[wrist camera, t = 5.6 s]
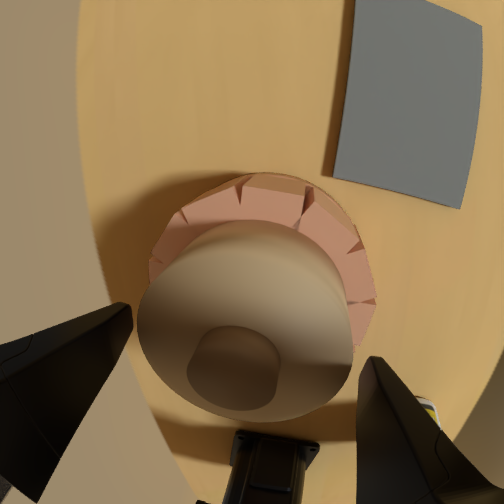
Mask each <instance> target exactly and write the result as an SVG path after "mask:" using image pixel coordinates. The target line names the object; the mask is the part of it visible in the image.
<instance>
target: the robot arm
mask: <svg viewBox="0 0 504 504" xmlns="http://www.w3.org/2000/svg"><path fill="white" fill-rule="evenodd" d="M132 330H133V317H132V309H131V306H130V305H129V304H126V303H123V302H117V303H114V304H112V305H109V306H106V307H104V308H101V309H98V310H96V311H93V312H90V313H88V314H85V315H82V316H80V317H77V318H74V319H72V320H69V321H66V322H64V323H61V324H58V325H56V326H53V327H51V328H47V329H45V330H42V331H39V332H37V333H34V335H33V334H31V335H29V336H26V337H23V338H20V339H17V340H14V341H11V342H8V343H5V344H1V345H0V504H2V503H3V500H4V499H5V498H6V496H7V495H8V493H9V492H10V490H11V489H12V487H13V486H14V487H15V488H16V489H18V490H19V491H20V492H21V493H23V494H24V495H25V496H27V497H28V498H29V499H31V500H32V501H33V502H35V503H37V502H38V501H39V499H40V497H41V495H42V493H43V491H44V489H45V487H46V485H47V484H48V481H49V480H50V478H51V476H52V474H53V472H54V470H55V468H56V467H57V465H58V463H59V461H60V458H61V457H62V455H63V453H64V451H65V450H66V448H67V446H68V444H69V443H70V441H71V439H72V437H73V435H74V434H75V432H76V430H77V429H78V427H79V425H80V423H81V421H82V420H83V418H84V416H85V415H86V413H87V411H88V410H89V408H90V406H91V405H92V403H93V401H94V400H95V398H96V396H97V395H98V393H99V391H100V390H101V388H102V386H103V384H104V383H105V382H106V380H107V378H108V377H109V375H110V373H111V372H112V370H113V368H114V367H115V365H116V363H117V361H118V359H119V357H120V355H121V353H122V351H123V349H124V347H125V345H126V343H127V340H128V338H129V336H130V334H131V332H132ZM440 429H441V428H440V427H439V425H438V424H437V423H436V422H435V420H434V419H433V418H432V417H431V416H430V414H429V413H428V412H427V411H426V409H425V408H424V407H423V406H422V404H421V403H420V402H419V401H418V400H417V398H416V397H415V396H414V395H413V394H412V392H411V391H410V390H409V389H408V388H407V386H406V385H405V384H404V383H403V382H402V380H401V379H400V378H399V377H398V376H397V374H396V373H395V372H394V371H393V370H392V368H391V367H390V366H389V365H388V364H387V363H386V361H385V360H384V359H383V358H382V357H377V356H370V357H369V358H368V359H367V361H366V363H365V365H364V367H363V369H362V371H361V373H360V376H359V383H358V400H357V413H356V442H357V492H356V504H504V489H502V488H499V487H497V486H495V485H493V484H492V483H490V482H489V481H488V480H487V479H486V478H485V477H484V476H483V475H482V474H481V473H480V472H479V471H478V470H477V468H476V467H475V466H474V465H472V463H471V462H470V461H469V460H468V459H467V458H466V457H465V456H464V455H463V454H462V453H461V452H460V451H459V450H458V449H457V447H456V446H455V445H454V444H453V443H452V441H451V440H450V439H449V438H448V437H447V435H446V434H445V433H444V432H443V430H440ZM319 450H320V445H319V444H318V443H313V442H305V441H298V440H291V439H284V438H278V437H272V436H267V435H261V434H256V433H251V432H246V431H241V430H239V431H236V432H235V436H234V441H233V447H232V453H231V458H230V466H232V471H231V474H230V478H229V481H228V485H227V488H226V492H225V495H224V498H223V502H222V504H301V502H302V494H303V486H304V478H305V471H306V470H307V468H308V467H309V465H310V464H311V462H312V461H313V459H314V458H315V457H316V455H317V454H318V452H319ZM196 504H209V503H206V502H205V501H201V500H197V502H196Z"/></svg>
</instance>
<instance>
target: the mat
mask: <svg viewBox="0 0 504 504" xmlns="http://www.w3.org/2000/svg"><path fill="white" fill-rule="evenodd" d="M482 53H483V48H482V26H481V25H479V24H477V23H475V22H473V21H471V20H469V19H467V18H465V17H463V16H461V15H459V14H456V13H454V12H452V11H450V10H447V9H445V8H443V7H440V6H438V5H435V4H433V3H430V2H428V1H425V0H355V7H354V20H353V31H352V42H351V51H350V60H349V69H348V77H347V85H346V93H345V100H344V107H343V114H342V121H341V127H340V133H339V140H338V146H337V152H336V157H335V163H334V169H333V174H332V176H333V177H335V178H340V179H344V180H349V181H354V182H358V183H363V184H367V185H371V186H375V187H380V188H384V189H388V190H392V191H396V192H400V193H404V194H407V195H411V196H415V197H419V198H422V199H426V200H429V201H433V202H436V203H440V204H443V205H447V206H450V207H453V208H456V209H460V207H461V204H462V200H463V196H464V192H465V188H466V184H467V179H468V175H469V170H470V165H471V160H472V155H473V150H474V144H475V138H476V131H477V124H478V116H479V107H480V96H481V83H482Z"/></svg>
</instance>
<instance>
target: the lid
mask: <svg viewBox="0 0 504 504" xmlns="http://www.w3.org/2000/svg"><path fill="white" fill-rule="evenodd" d="M137 332H138V337H139V341H140V344H141V347H142V350H143V352H144V354H145V356H146V358H147V360H148V362H149V364H150V365H151V367H152V368H153V370H154V371H155V372H156V374H157V375H158V376H159V377H160V378H161V379H162V380H163V381H164V382H165V383H166V384H167V385H168V386H169V387H170V388H171V389H172V390H173V391H174V392H176V393H177V394H178V395H180V396H181V397H182V398H184V399H185V400H187V401H189V402H190V403H192V404H194V405H196V406H197V407H199V408H202V409H204V410H206V411H208V412H211V413H213V414H216V415H219V416H222V417H226V418H230V419H234V420H240V421H247V422H278V421H284V420H289V419H293V418H297V417H300V416H303V415H305V414H308V413H310V412H312V411H314V410H316V409H318V408H320V407H321V406H323V405H324V404H326V403H327V402H328V401H329V400H331V399H332V398H333V397H334V396H335V395H336V394H337V393H338V391H339V390H340V389H341V388H342V386H343V385H344V383H345V381H346V380H347V378H348V375H349V373H350V370H351V367H352V361H353V341H352V333H351V326H350V319H349V312H348V306H347V299H346V293H345V288H344V284H343V281H342V278H341V275H340V273H339V271H338V269H337V267H336V266H335V264H334V262H333V261H332V259H331V258H330V257H329V256H328V254H327V253H326V252H325V251H324V250H323V249H322V248H321V247H320V246H319V245H318V244H317V243H316V242H314V241H313V240H311V239H310V238H309V237H307V236H306V235H304V234H302V233H300V232H299V231H297V230H295V229H293V228H290V227H287V226H285V225H282V224H279V223H275V222H270V221H264V220H237V221H231V222H227V223H223V224H220V225H217V226H215V227H213V228H211V229H208V230H206V231H205V232H203V233H202V234H200V235H199V236H197V237H196V238H195V239H194V240H193V241H192V242H191V243H190V244H189V245H188V246H187V247H186V248H185V249H184V250H183V251H182V252H181V253H180V254H179V255H178V256H177V257H176V258H175V259H174V260H173V261H172V262H171V263H170V264H169V265H168V266H167V267H166V268H165V269H164V271H163V272H162V273H161V274H160V275H159V276H158V277H157V278H156V279H155V280H154V281H153V282H152V283H151V285H150V286H149V287H148V289H147V290H146V292H145V294H144V296H143V298H142V300H141V302H140V306H139V309H138V315H137Z"/></svg>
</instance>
